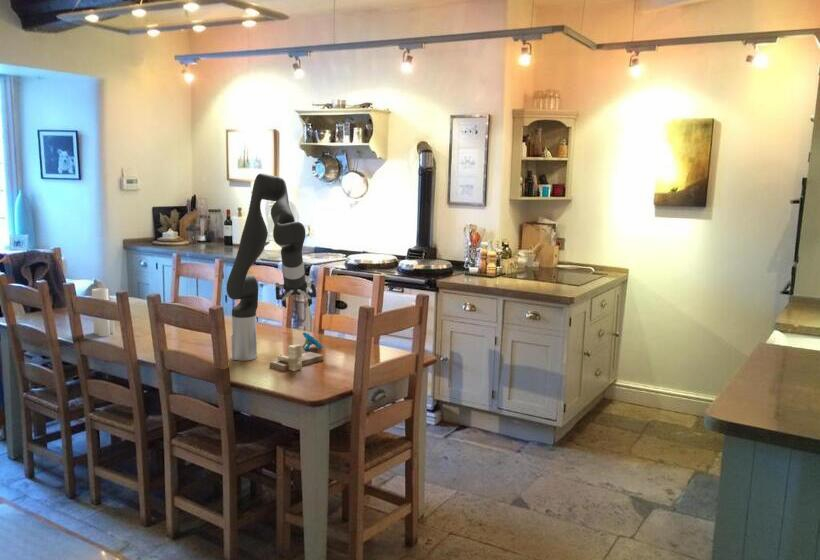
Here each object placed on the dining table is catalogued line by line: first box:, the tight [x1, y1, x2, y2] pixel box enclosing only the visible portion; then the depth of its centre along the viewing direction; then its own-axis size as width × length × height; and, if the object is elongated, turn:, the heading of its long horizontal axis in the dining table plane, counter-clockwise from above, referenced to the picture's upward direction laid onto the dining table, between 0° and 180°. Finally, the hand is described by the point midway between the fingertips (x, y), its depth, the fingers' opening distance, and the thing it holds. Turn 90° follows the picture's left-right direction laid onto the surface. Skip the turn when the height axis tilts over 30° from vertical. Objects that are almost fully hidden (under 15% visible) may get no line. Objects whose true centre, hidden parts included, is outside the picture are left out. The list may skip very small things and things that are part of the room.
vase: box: [91, 287, 115, 338], centre depth 296 cm, size 11×7×20 cm, turn 46°
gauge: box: [277, 343, 303, 372], centre depth 248 cm, size 4×10×9 cm, turn 51°
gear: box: [302, 332, 323, 351], centre depth 276 cm, size 11×6×10 cm
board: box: [269, 351, 324, 372], centre depth 255 cm, size 20×8×2 cm, turn 141°
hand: (297, 305), depth 239 cm, fingers open, 8 cm apart
